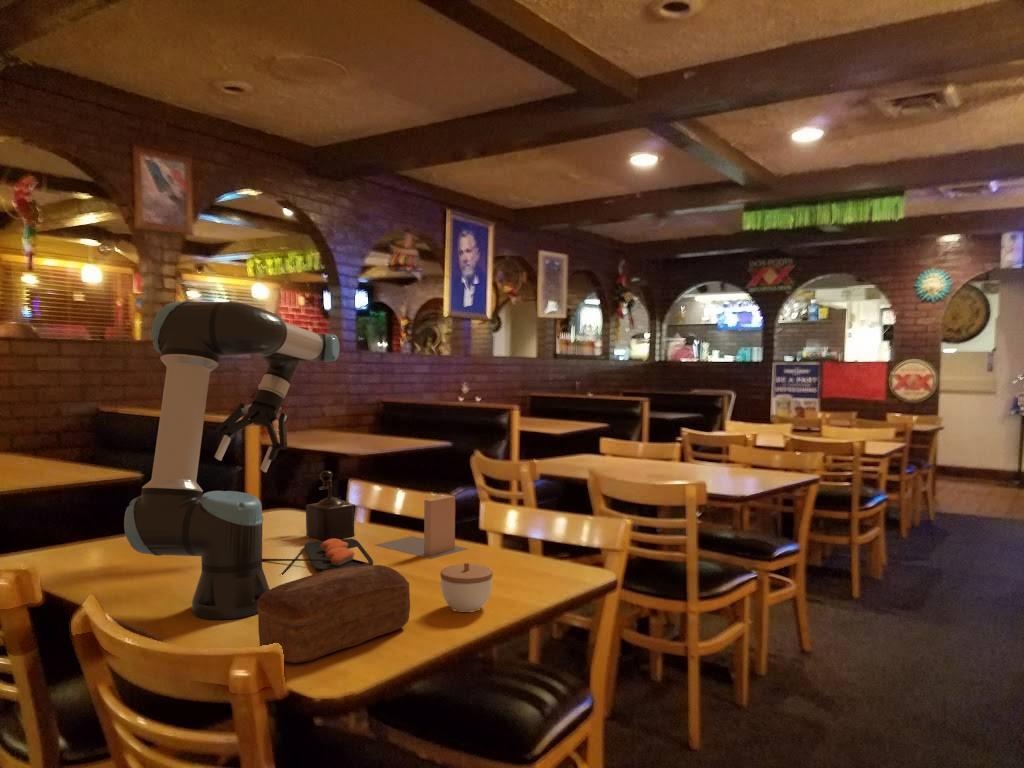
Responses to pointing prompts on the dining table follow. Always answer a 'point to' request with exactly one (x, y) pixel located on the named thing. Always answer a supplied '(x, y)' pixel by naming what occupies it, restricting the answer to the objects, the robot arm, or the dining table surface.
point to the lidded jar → (466, 586)
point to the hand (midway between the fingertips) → (240, 464)
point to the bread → (333, 610)
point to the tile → (439, 524)
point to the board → (415, 547)
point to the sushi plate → (330, 554)
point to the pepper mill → (329, 515)
